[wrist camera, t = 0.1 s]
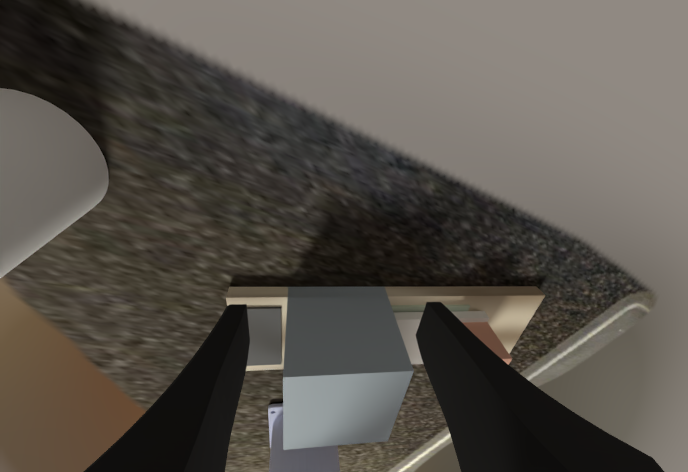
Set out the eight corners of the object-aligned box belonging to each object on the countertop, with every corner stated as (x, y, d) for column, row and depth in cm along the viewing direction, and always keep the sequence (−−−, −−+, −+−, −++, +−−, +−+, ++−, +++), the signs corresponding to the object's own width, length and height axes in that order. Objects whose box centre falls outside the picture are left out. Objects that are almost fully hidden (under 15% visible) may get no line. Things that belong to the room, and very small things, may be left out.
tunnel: (368, 354, 30) (387, 440, 23) (287, 357, 28) (283, 450, 22) (384, 286, 25) (413, 370, 18) (288, 286, 24) (283, 377, 17)
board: (499, 349, 32) (506, 360, 31) (238, 359, 28) (235, 373, 27) (536, 286, 27) (546, 297, 26) (229, 286, 23) (225, 299, 22)
